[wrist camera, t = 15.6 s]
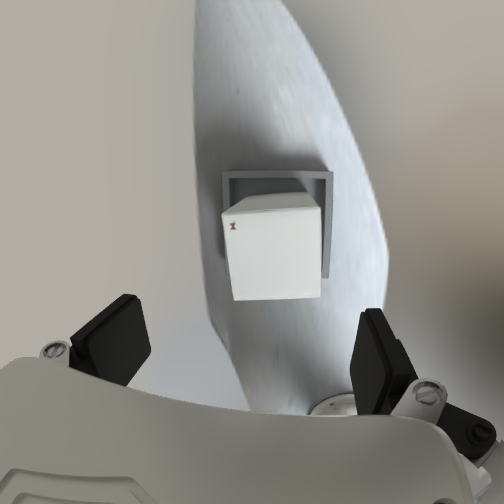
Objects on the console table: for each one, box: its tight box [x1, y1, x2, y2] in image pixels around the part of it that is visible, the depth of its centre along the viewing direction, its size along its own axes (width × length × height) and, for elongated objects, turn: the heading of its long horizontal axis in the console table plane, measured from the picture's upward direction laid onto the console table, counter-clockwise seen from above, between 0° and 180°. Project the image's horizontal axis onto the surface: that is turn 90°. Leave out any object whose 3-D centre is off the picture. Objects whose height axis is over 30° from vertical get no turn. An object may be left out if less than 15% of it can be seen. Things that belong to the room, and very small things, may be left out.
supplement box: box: [221, 192, 322, 300], centre depth 26 cm, size 7×7×13 cm
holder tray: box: [222, 170, 333, 278], centre depth 32 cm, size 12×12×3 cm
